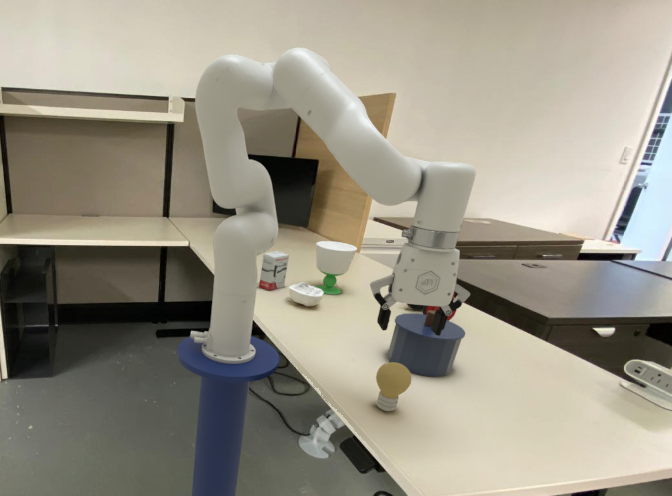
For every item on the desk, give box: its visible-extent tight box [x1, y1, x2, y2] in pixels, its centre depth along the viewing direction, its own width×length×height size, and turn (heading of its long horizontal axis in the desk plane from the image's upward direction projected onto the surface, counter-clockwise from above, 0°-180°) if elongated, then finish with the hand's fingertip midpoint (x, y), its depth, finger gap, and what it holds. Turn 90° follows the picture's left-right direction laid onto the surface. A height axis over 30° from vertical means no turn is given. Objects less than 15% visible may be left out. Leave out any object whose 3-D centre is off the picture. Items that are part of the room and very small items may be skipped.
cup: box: [315, 240, 358, 295], centre depth 161 cm, size 14×14×16 cm
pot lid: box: [394, 310, 466, 341], centre depth 111 cm, size 16×16×4 cm
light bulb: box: [375, 361, 412, 412], centre depth 92 cm, size 6×6×10 cm
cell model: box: [288, 281, 325, 307], centre depth 147 cm, size 10×12×7 cm
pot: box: [387, 323, 462, 378], centre depth 113 cm, size 15×15×10 cm
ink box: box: [258, 250, 290, 291], centre depth 160 cm, size 8×5×12 cm, turn 134°
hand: (408, 330), depth 87 cm, fingers open, 9 cm apart
